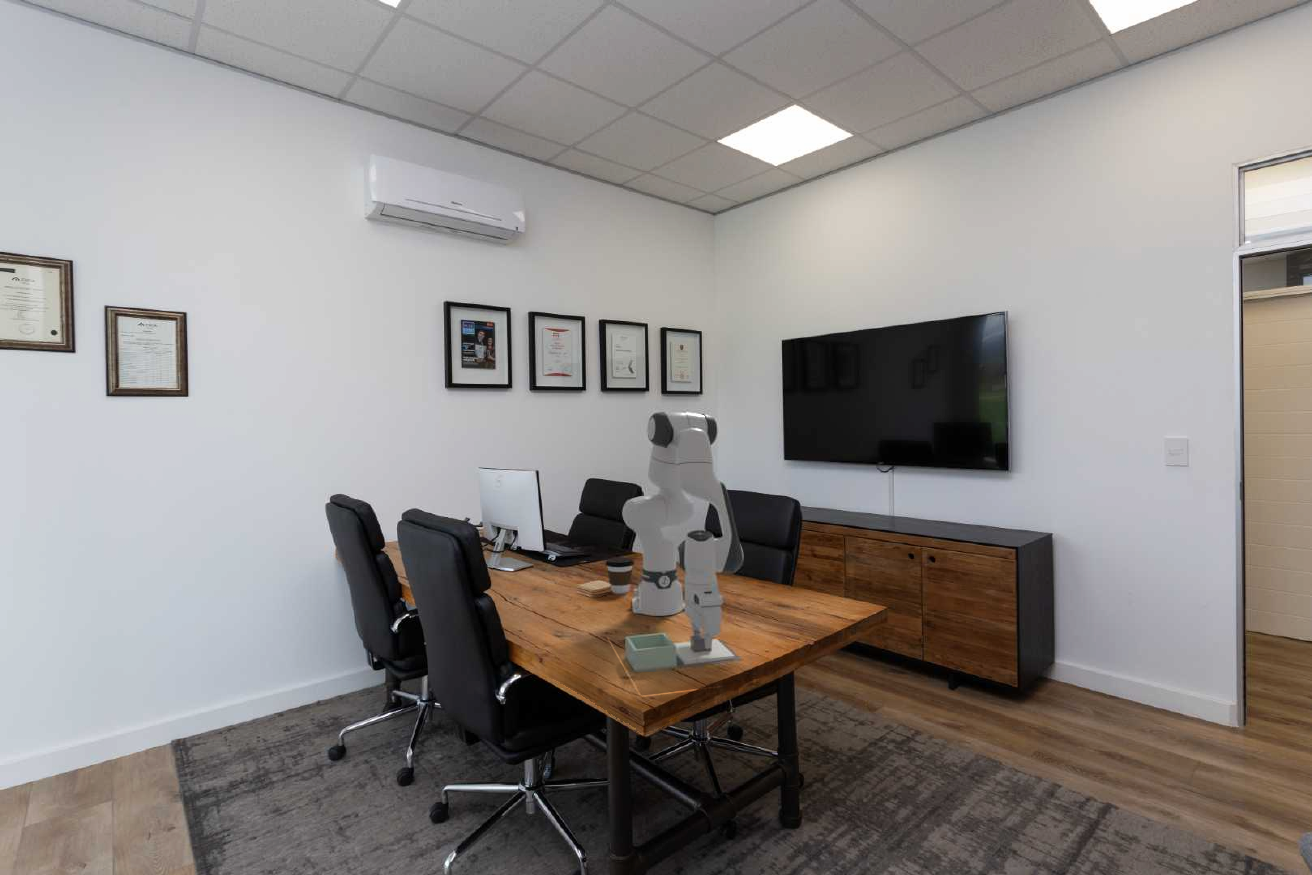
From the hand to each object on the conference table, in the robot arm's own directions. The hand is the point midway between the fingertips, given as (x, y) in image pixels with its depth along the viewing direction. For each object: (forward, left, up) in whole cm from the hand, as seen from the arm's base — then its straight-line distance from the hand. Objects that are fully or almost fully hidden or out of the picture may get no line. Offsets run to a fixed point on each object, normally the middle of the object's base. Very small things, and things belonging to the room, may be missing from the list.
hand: (702, 642), depth 177 cm
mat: (0, 0, -3) cm, 3 cm away
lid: (0, 0, -3) cm, 3 cm away
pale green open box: (+3, -15, -3) cm, 16 cm away
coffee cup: (-71, -8, -4) cm, 72 cm away
